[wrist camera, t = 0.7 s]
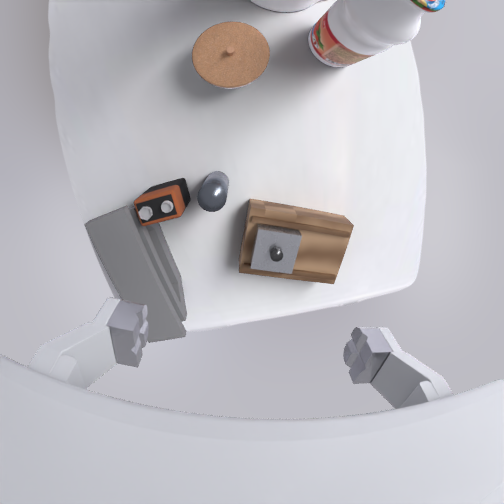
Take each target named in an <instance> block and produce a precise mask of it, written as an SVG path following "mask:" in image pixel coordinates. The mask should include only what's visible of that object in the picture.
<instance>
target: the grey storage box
mask: <svg viewBox="0 0 504 504" xmlns="http://www.w3.org/2000/svg"><path fill="white" fill-rule="evenodd" d="M84 225H85V227H86V229H87V231H88V234H89V236H90V238H91V240H92V242H93V244H94V247H95V249H96V251H97V253H98V255H99V257H100V259H101V261H102V263H103V265H104V267H105V269H106V271H107V273H108V275H109V277H110V278H111V280H112V282H113V284H114V286H115V288H116V289H117V291H118V293H119V295H120V297H121V298H122V300H127V301H131V302H136V303H141V304H146V305H147V311H148V314H147V317H146V321H147V322H148V338H147V341H148V342H149V343H150V342H157V341H163V340H169V339H175V338H181V337H185V335H186V330H185V328H184V326H183V324H182V322H181V321H185V320H186V316H187V311H186V305H185V299H184V293H183V287H182V281H181V275H180V273H179V270H178V268H177V266H176V263H175V261H174V259H173V256H172V254H171V252H170V249H169V247H168V245H167V242H166V240H165V237H164V235H163V232H162V230H161V227H160V225H159V223H155V224H151V225H147V226H142V225H141V223H140V220H139V217H138V214H137V211H136V208H135V206H133V207H130V208H128V206H125V207H122V208H120V209H117V210H115V211H112V212H110V213H107V214H105V215H102V216H100V217H97V218H95V219H92V220H90V221H88V222H87V223H86V224H84Z"/></svg>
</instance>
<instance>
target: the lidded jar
mask: <svg viewBox="0 0 504 504" xmlns="http://www.w3.org/2000/svg"><path fill="white" fill-rule="evenodd" d="M269 56H270V51H269V46H268V43H267V41H266V39H265V37H264V36H263V35H262V34H261V33H260V32H259V31H258V30H257V29H256V28H254V27H252V26H250V25H248V24H245V23H241V22H224V23H220V24H216V25H214V26H212V27H210V28H209V29H207V30H206V31H204V32H203V33H202V34H201V35H200V36H199V38H198V39H197V41H196V42H195V44H194V47H193V51H192V61H193V65H194V67H195V69H196V71H197V73H198V74H199V75H200V76H201V77H202V78H203V79H204V80H205V81H207V82H209V83H210V84H212V85H214V86H217V87H220V88H226V89H235V88H240V87H243V86H246V85H248V84H250V83H252V82H253V81H255V80H256V79H257V78H258V77H259V76H260V75H261V74H262V73H263V72H264V70H265V68H266V67H267V64H268V61H269Z"/></svg>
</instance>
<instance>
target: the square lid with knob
mask: <svg viewBox="0 0 504 504" xmlns="http://www.w3.org/2000/svg"><path fill="white" fill-rule="evenodd" d="M301 238H302V235H301V233H300V231H299V230H296V229H290V228H284V227H277V226H271V225H265V224H258V223H257V228H256V233H255V238H254V243H253V248H252V253H251V258H250V269H257V270H265V271H272V272H280V273H288V274H292V271H293V267H294V264H295V260H296V257H297V253H298V249H299V246H300V242H301Z"/></svg>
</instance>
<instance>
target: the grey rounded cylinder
mask: <svg viewBox="0 0 504 504" xmlns="http://www.w3.org/2000/svg"><path fill="white" fill-rule="evenodd" d="M228 186H229V180H228V177H227V176H226V175H225V174H224V173H223V172H220V171H215V172H212V173H210V174H209V175H208V176H207V178H206V180H205V182H204V183H203V185H202V187H201V189H200V190H199V192H198V196H197V199H198V203H199V205H200V206H201V207H202V208H203V209H204V210H206V211H209V212H215V211H218V210H220V209H221V208H222V207H223V206H224V205H225V202H226V198H227V192H228Z"/></svg>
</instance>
